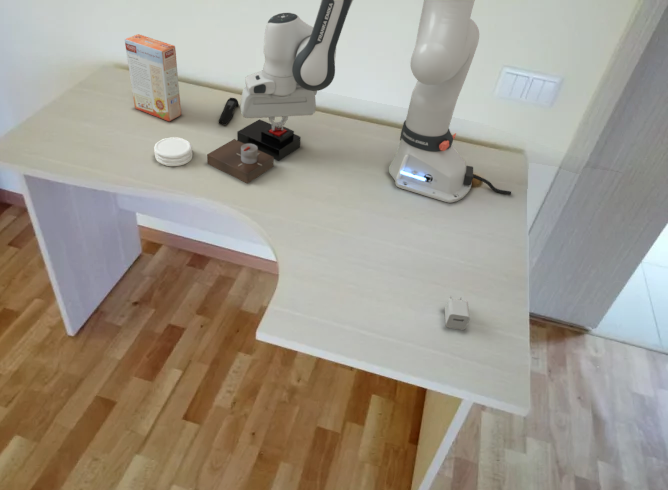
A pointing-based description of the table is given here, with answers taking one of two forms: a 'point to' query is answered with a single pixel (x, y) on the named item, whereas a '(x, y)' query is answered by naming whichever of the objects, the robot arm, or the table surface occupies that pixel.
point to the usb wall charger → (457, 314)
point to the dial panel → (239, 162)
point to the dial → (249, 153)
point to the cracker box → (153, 76)
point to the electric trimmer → (228, 111)
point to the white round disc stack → (173, 151)
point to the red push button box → (269, 139)
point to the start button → (278, 132)
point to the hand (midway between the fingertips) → (277, 129)
